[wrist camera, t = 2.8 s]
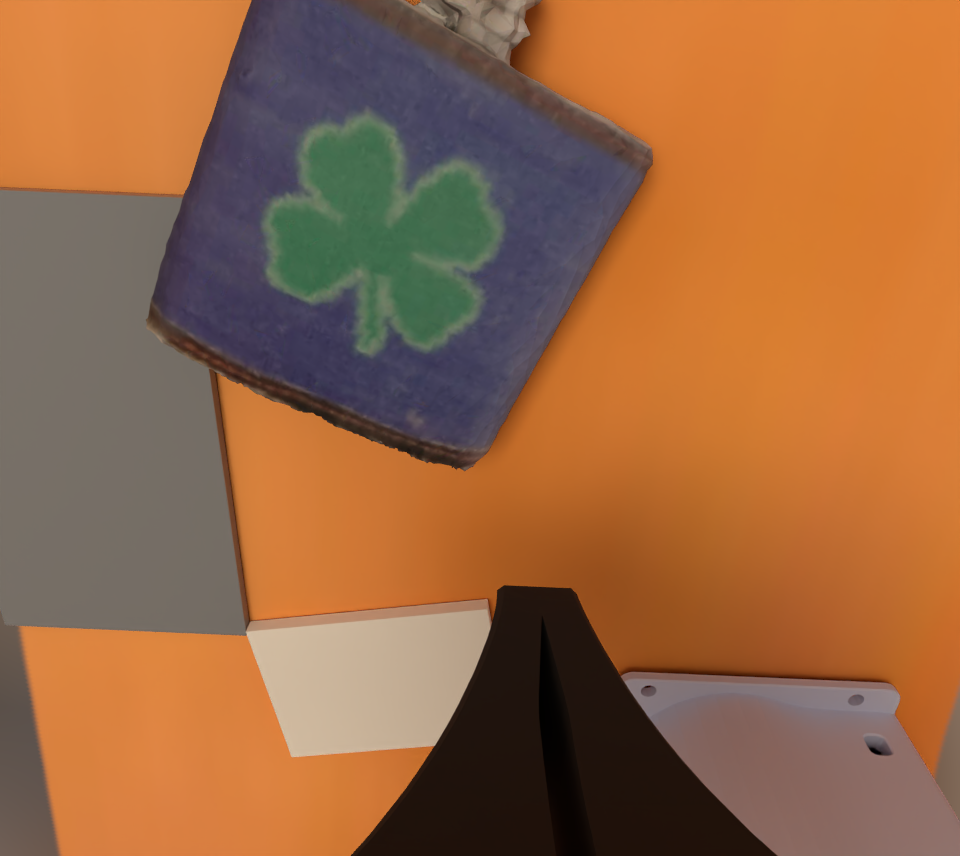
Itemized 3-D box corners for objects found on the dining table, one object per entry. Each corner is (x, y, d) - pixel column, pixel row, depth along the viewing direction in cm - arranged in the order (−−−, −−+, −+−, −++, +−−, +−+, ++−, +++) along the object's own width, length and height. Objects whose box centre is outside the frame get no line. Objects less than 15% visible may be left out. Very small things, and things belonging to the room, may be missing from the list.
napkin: (487, 598, 24) (487, 608, 23) (509, 728, 26) (509, 739, 26) (250, 621, 24) (245, 631, 24) (295, 745, 27) (291, 757, 26)
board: (191, 195, 18) (184, 197, 18) (249, 627, 24) (246, 635, 24) (-129, 181, 18) (-142, 183, 18) (12, 616, 24) (5, 625, 24)
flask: (480, 442, 21) (691, 72, 17) (479, 495, 18) (731, 70, 14) (166, 299, 19) (316, -156, 15) (115, 335, 16) (280, -207, 12)
